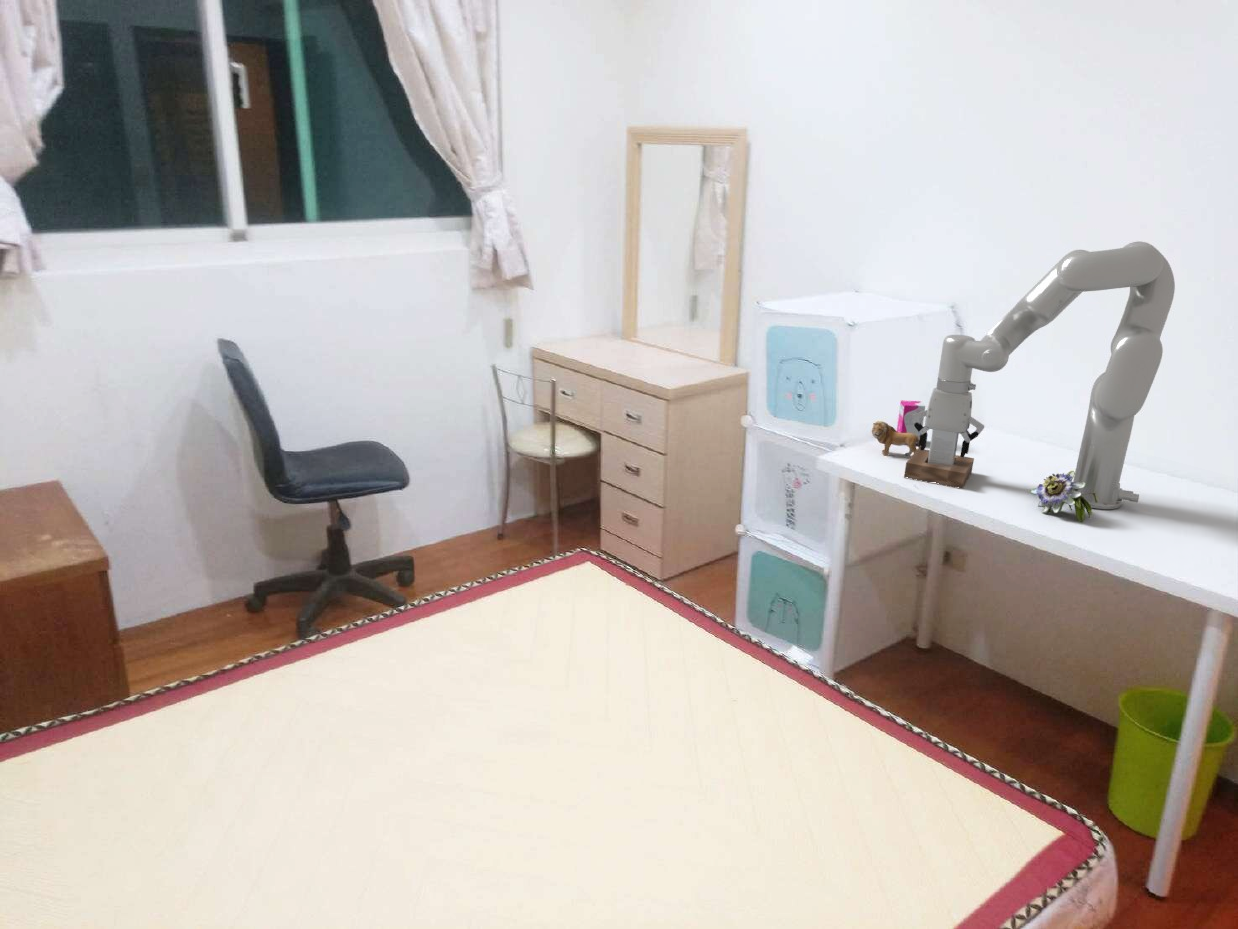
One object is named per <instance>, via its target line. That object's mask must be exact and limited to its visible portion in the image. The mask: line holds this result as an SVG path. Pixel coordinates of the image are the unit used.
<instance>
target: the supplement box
mask: <svg viewBox="0 0 1238 929" xmlns="http://www.w3.org/2000/svg"><path fill="white" fill-rule="evenodd" d="M899 404H900V405H899V410H898V418H897V426H896V431H897V432H899V433H913V434H915V435H916V436H917V437H918V438H919V440H920V434H919V432H918V430H917V429H916V428H915V426H914V423H913V421H912V418H911V416H912V415H913V414H916V413H919V412H923V411H926V405H925V404H924V403H923V402H922V401H919V400H902V399H901V400H900V403H899ZM924 418H925V417H922V418H919V422H920V423H921V425H922V426H923V427H924ZM906 445H907V444H905V446H906ZM907 446H908V445H907ZM916 446H918V443H917V442H916Z"/></svg>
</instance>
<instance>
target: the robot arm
mask: <svg viewBox="0 0 1238 929" xmlns="http://www.w3.org/2000/svg"><path fill="white" fill-rule="evenodd" d="M1175 287H1176V285H1175V276H1174V273H1173V270H1172V267H1171V265H1170V263H1169V261H1168V260H1167V259H1166V257H1165V256H1164V255H1163V254H1162V253H1161V252H1160V251H1159V249H1158V248H1156V246H1154V245H1152V244H1150V243H1149V242H1145V241H1132V242H1130V243H1128V244H1125V245H1124V246H1123V247H1119V248H1112V249H1104V250H1096V251H1095V250H1093V251H1089V250H1086V249H1085V250H1084V249H1075V250H1072V251H1069V252H1068V253H1067V254H1066V255H1064V256H1063V257H1062V258H1061V259H1059V261H1058V262H1057V263H1056V264H1054V266H1053V267H1052V268H1051V269H1050V270H1049V271H1048V272H1047V273H1046V274H1045V275H1044V276H1043V277H1042V278H1041V279H1040V280H1039V281H1037V283H1036V284H1035V285H1034V286H1033V287H1032V288H1031V289H1030V290H1029V291H1028V292H1027V293H1026V294H1025V295H1024V296H1023V297H1022V298H1021V299H1019V301H1017V303H1016V304H1015V305H1014V306H1013V308H1012V309H1011V310H1010V311H1008V313H1006V315H1004V316H1003V317H1002V318H1001V319H1000V320H999V321H998V322H997V324H995V325H994V326H993V327H992V328H991V329H990V330H989V331H988V332H987V333H986V335H984V336H983V337H982V338H981V339H980V340H976V339H975V338H974V337H972V336H969V335H963V334H949V335H946V336H945V338H944V339H943V342H942V349H941V355H940V361H939V370H938V375H937V382H936V386H935V387H934V388H933V390H932V392H931V396H930V399H929V401H928V402H929V403H928V406H927V410H926V409H925V411H923V412H919V413H916V414H913V415H912V416H911V418H912V421H913V423H914V426H915V428H916V429H917V430H918V432H919V434H920V440H919V446H921V449H920V450H924V449H925V450H926V447H927V442H928V441H927V440H928V435H929V434H928V432H929V431H930V430H933V429H937V430H943V431H949V432H954V433H959V435H961V436H962V438H963V441H962V442H961V448H960V449H961V450H960V455H959V456H961V457H965V455H966V454H967V455H968V453H969V448H970V444H971V443H970V442H971V441H973V440H974V439H976V438H977V437H979V435H980V434H981V433H982V432H983V430H984V429H985V424H983V423H981V422H980V421H979V420H977V419H976V418H974V417H972V409H973V408H972V407H973V394H972V392H970V391H972V390H974V391H976V389H977V384H974V383H973V382H972V380H971V378H972V373H973V370H979V371H983V372H987V373H996V372H999V371H1001V370H1002V369H1003V368H1005V366H1006V365H1007V364H1008V361H1009V357H1010V355H1011V354H1012V353H1013V352H1014V351H1015V350H1016V349H1017V348H1018V347H1019V346H1020V345H1021V344H1022V343H1024V342H1025V340H1026V339H1028V338H1029V337H1030V336H1031V335H1032V334H1034V333H1035V332H1037V330H1039V329H1042V328H1044V327H1047V325H1049V324H1050V323H1052V322H1053V321H1054V320H1055V319H1056V318H1057V317H1058V316H1059V315H1060V314H1061V313H1063V311H1064V310H1066V309H1067V307H1068V306H1070V304H1072V303H1073V301H1075V300H1076V299H1077V298H1078V296H1080V295H1081V294H1082V293H1083V292H1096V291H1097V292H1098V291H1107V290H1114V289H1115V290H1116V289H1121V288H1122V289H1123V288H1125V289H1126V288H1129V296H1128V298H1127V302H1126V304H1125V308H1124V312H1123V313H1122V318H1121V319H1120V322H1119V324H1118V327H1117V328H1116V331H1115V334H1114V336H1113V338H1112V341H1111V342H1110V353H1111V355H1110V357H1109V360H1108V363H1107V366H1106V368H1105V370H1104V372H1103V373H1101V374H1100V375H1099V376H1098V377H1097V378H1096V379H1095V381H1094V382H1093V384H1092V387H1091V393H1090V396H1089V397H1090V399H1089V404H1088V411H1087V416H1086V422H1085V425H1084V430H1083V435H1082V439H1081V442H1080V449H1079V451H1078V452H1079V453H1078V457H1077V462H1076V467H1075V471H1074V472H1075V475H1074V477H1073V479H1072V481H1073V482H1081V483H1085V484H1086V485H1085V487H1083V488H1081V489H1078V490H1077V491H1078V492H1080V493H1081V494H1083V495H1081V496H1082V497H1084V499H1085V500H1086V501H1087V502H1088V503H1089V504H1090V506H1091V508H1092V509H1096V510H1097V509H1098V510H1115V509H1119V508H1121V507H1122V505H1123V500H1125V501H1129V502H1134V503H1137V504H1138V502H1139V499H1140V494H1137V493H1134V491H1132V490H1126V489H1123V488H1121V483H1120V481H1121V478H1122V477H1121V476H1122V472H1123V470H1124V464H1125V459H1126V456H1127V452H1128V447H1129V442H1130V439H1131V435H1132V430H1133V426H1134V420H1135V416H1136V415H1137V414H1138V413H1139V412H1140V411H1141V409H1142V408H1143V406H1144V404H1145V402H1146V399H1147V397H1148V395H1149V394H1150V390H1151V387H1152V386H1153V385H1152V384H1154V380H1155V377H1156V375H1157V373H1158V370H1159V367H1160V364H1161V362H1162V357H1163V352H1164V351H1163V350H1164V349H1163V344H1162V342H1161V336H1162V332H1163V330H1164V327H1165V324H1166V323H1167V319H1168V316H1169V313H1170V310H1171V307H1172V304H1173V300H1174V297H1175V291H1176V288H1175ZM922 417H924V418H925V421H924V422H925V424H924V425H923V426H922V425H921V423H920V422H919V418H922ZM970 425H972V426H973V427H974V428H975V430H974V431H973V432H970V431H969V428H970ZM1095 492H1096V495H1097V498H1098V502H1095V497H1094V495H1093V493H1095ZM1084 493H1092V494H1084ZM1083 506H1084V505H1083ZM1084 507H1085V506H1084Z"/></svg>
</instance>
